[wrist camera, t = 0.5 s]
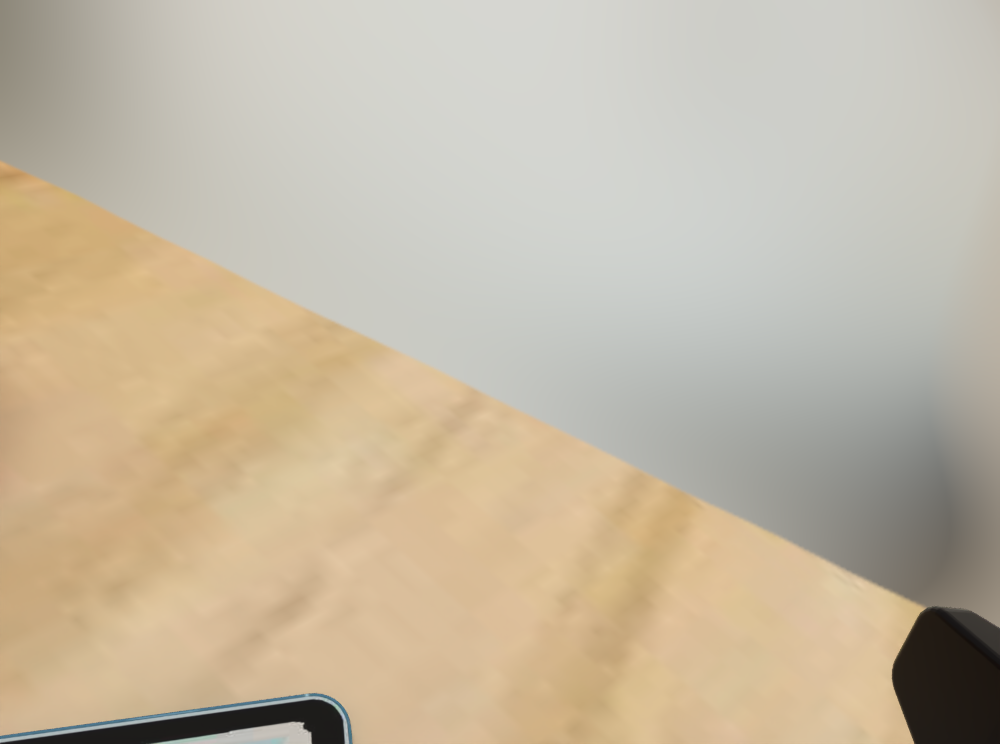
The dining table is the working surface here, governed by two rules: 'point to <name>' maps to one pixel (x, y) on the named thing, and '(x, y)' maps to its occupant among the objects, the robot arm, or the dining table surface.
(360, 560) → the dining table surface
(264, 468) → the dining table surface
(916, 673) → the robot arm
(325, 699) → the smartphone
